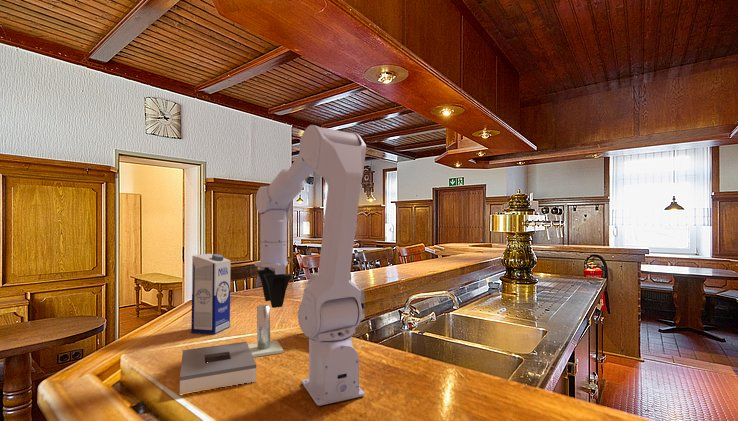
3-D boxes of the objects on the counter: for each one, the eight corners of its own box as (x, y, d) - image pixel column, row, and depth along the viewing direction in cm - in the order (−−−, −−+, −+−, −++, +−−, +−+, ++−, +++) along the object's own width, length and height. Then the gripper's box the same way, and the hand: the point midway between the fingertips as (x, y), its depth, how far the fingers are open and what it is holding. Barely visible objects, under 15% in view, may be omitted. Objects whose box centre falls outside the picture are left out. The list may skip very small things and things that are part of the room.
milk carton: (208, 325, 100) (209, 252, 101) (230, 326, 99) (231, 252, 99) (190, 333, 93) (191, 254, 94) (214, 334, 92) (215, 255, 92)
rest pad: (283, 352, 79) (283, 349, 79) (249, 357, 76) (249, 355, 76) (276, 343, 85) (277, 340, 85) (245, 347, 82) (245, 344, 82)
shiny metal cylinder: (271, 348, 80) (271, 306, 80) (258, 350, 78) (258, 308, 79) (268, 344, 82) (268, 304, 83) (256, 346, 81) (255, 305, 81)
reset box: (256, 381, 64) (256, 364, 64) (179, 395, 59) (179, 377, 59) (246, 355, 77) (246, 341, 77) (182, 365, 72) (182, 350, 72)
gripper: (250, 241, 85) (249, 299, 85) (260, 243, 72) (260, 312, 72) (280, 240, 89) (280, 296, 88) (295, 242, 76) (295, 308, 75)
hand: (273, 303), depth 80 cm, fingers open, 7 cm apart
